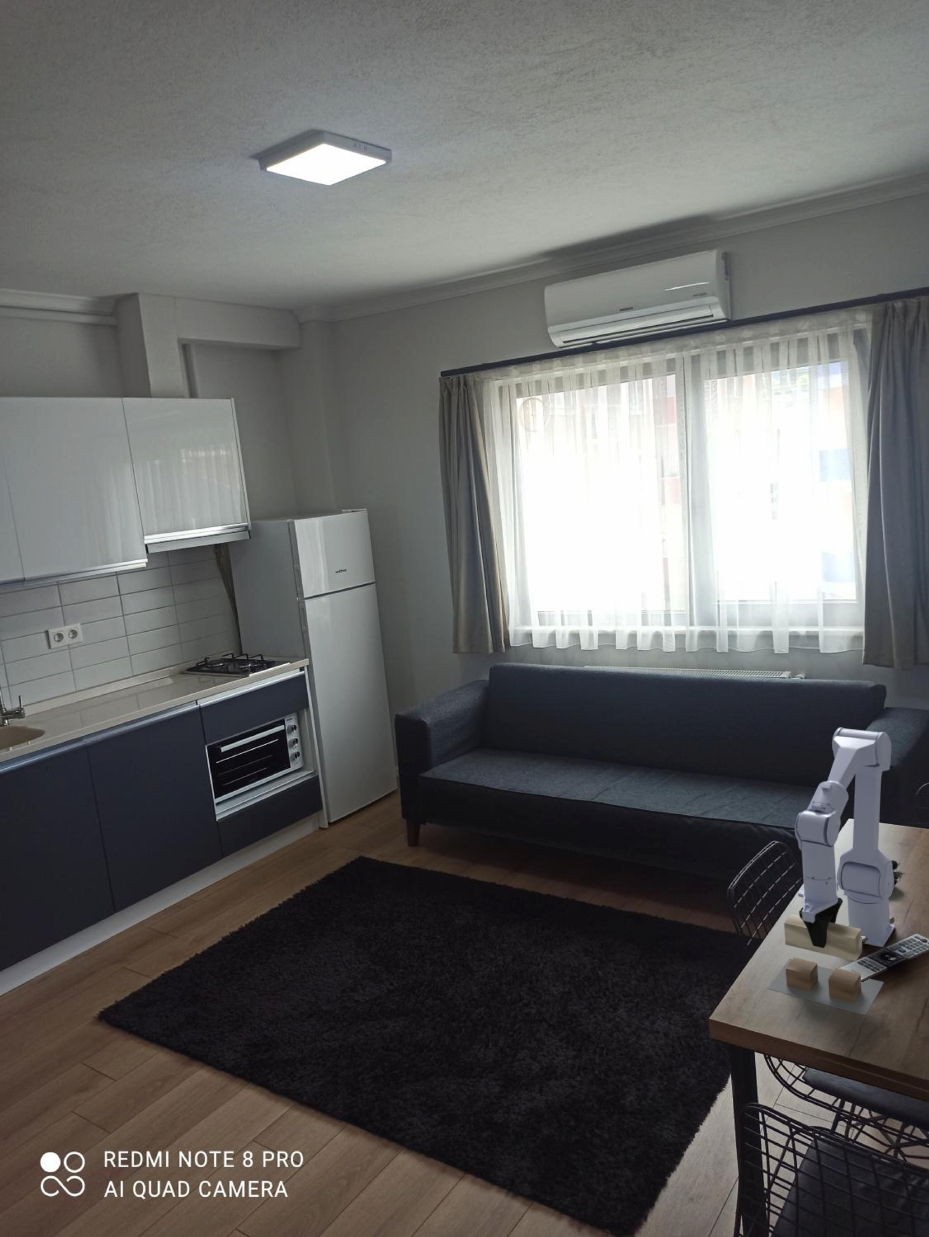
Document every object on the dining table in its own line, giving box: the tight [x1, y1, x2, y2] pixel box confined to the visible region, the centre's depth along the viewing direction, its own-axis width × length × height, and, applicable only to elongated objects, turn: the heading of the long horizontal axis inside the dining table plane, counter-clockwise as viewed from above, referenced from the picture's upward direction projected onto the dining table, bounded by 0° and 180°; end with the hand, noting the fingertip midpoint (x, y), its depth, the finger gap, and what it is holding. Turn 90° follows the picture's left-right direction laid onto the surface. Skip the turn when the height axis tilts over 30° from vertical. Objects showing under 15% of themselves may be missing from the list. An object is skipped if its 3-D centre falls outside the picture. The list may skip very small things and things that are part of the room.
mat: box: [767, 958, 885, 1016], centre depth 176 cm, size 12×18×1 cm, turn 51°
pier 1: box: [786, 957, 818, 991], centre depth 177 cm, size 4×4×4 cm
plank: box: [783, 913, 863, 962], centre depth 174 cm, size 4×13×4 cm, turn 51°
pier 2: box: [828, 967, 862, 1003], centre depth 172 cm, size 4×4×4 cm
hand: (822, 940), depth 174 cm, fingers closed on plank, 4 cm apart
